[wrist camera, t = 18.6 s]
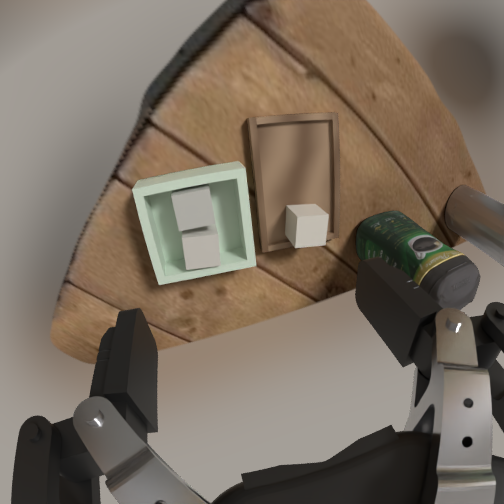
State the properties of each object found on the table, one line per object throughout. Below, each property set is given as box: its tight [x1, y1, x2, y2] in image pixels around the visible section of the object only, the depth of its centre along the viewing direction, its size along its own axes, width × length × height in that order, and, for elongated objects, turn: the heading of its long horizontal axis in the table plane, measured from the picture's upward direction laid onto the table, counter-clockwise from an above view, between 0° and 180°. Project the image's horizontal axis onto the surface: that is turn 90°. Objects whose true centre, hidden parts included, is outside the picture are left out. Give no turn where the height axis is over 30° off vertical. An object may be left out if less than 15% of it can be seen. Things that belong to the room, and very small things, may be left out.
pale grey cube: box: [182, 224, 221, 270], centre depth 34 cm, size 4×4×4 cm
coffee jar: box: [356, 211, 480, 310], centre depth 35 cm, size 10×8×19 cm
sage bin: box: [132, 161, 256, 285], centre depth 34 cm, size 12×12×4 cm
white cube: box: [285, 204, 329, 248], centre depth 36 cm, size 4×4×4 cm
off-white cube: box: [171, 183, 216, 231], centre depth 32 cm, size 4×4×4 cm
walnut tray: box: [247, 113, 340, 253], centre depth 35 cm, size 11×17×1 cm, turn 7°
